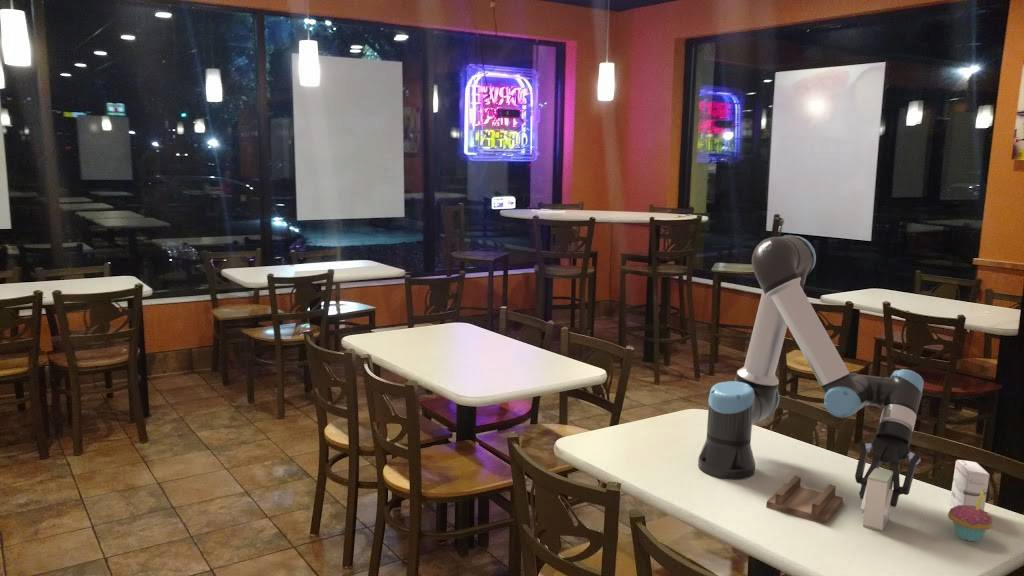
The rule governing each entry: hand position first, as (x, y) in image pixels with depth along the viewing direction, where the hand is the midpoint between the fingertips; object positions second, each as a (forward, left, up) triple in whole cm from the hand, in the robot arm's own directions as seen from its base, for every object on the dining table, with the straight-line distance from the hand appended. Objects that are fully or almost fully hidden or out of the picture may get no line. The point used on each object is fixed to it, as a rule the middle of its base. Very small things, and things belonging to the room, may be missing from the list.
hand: (874, 514), depth 175 cm
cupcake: (+18, +10, -4) cm, 21 cm away
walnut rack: (-16, +3, -3) cm, 17 cm away
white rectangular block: (+16, +25, -4) cm, 30 cm away
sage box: (0, +4, -3) cm, 5 cm away
